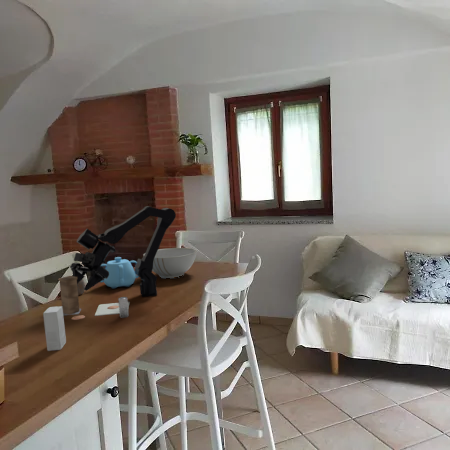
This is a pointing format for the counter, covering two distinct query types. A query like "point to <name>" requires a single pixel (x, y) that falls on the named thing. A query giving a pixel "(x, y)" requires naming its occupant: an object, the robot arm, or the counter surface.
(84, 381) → the counter surface
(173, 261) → the decorative bowl
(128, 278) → the decorative pot
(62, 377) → the counter surface
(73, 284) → the tan tall block
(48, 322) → the skincare box
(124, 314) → the pin
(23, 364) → the counter surface
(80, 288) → the vase
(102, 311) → the board
